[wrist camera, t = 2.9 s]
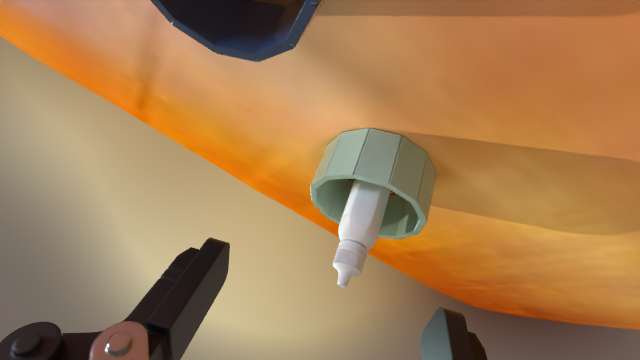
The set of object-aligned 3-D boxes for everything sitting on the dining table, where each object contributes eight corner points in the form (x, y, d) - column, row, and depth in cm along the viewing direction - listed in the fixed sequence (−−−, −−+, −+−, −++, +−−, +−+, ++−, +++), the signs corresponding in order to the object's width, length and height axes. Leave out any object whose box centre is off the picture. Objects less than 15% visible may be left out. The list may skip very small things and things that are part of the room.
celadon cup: (328, 181, 36) (313, 218, 34) (327, 117, 27) (306, 161, 25) (419, 206, 34) (410, 249, 31) (449, 146, 25) (441, 197, 23)
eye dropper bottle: (345, 166, 32) (303, 277, 26) (377, 142, 28) (335, 270, 22) (379, 187, 33) (346, 298, 27) (415, 167, 29) (385, 296, 23)
